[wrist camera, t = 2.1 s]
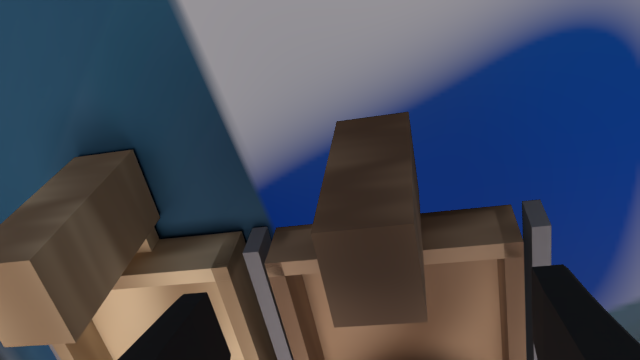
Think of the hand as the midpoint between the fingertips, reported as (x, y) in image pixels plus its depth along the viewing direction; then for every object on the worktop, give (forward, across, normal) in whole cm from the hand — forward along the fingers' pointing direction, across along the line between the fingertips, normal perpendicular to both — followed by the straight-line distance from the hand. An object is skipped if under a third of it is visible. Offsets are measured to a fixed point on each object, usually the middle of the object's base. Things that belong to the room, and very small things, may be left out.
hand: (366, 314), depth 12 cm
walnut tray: (+8, 0, +7) cm, 11 cm away
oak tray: (+8, +10, +8) cm, 15 cm away
